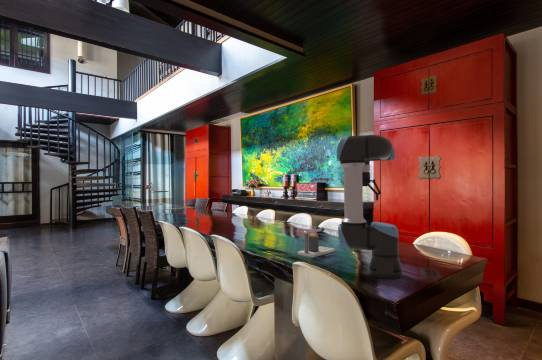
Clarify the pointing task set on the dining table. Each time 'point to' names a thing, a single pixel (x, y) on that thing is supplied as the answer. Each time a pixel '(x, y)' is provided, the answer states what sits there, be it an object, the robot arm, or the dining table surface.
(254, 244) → the dining table surface
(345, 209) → the robot arm
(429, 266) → the dining table surface
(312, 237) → the orange and black block
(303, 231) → the bar
